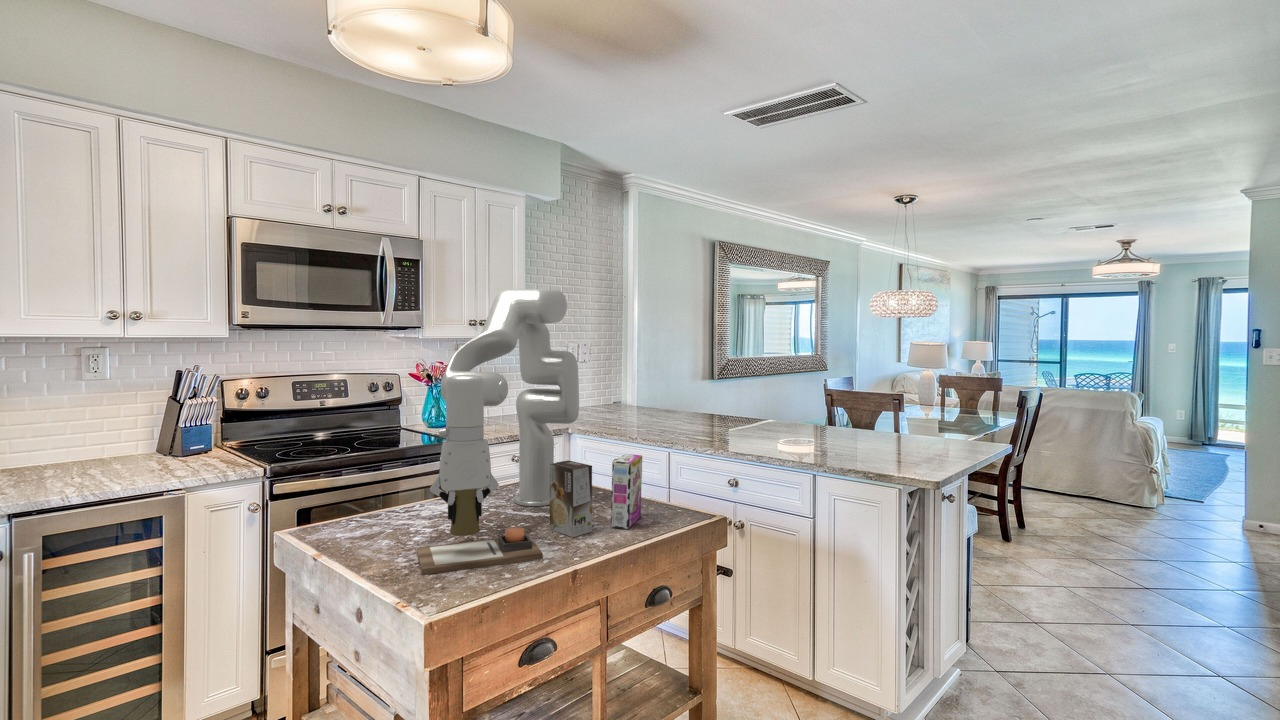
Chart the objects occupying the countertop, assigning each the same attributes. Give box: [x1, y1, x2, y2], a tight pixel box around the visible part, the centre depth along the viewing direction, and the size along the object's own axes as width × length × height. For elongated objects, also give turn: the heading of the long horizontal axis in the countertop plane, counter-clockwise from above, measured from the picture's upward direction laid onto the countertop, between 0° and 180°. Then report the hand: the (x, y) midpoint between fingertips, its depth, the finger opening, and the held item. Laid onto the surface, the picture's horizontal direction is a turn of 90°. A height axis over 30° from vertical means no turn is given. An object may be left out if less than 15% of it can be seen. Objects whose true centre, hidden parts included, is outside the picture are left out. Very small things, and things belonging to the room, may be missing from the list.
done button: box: [504, 526, 525, 542], centre depth 136 cm, size 4×4×2 cm
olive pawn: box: [449, 489, 481, 537], centre depth 131 cm, size 6×6×11 cm
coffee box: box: [549, 460, 593, 538], centre depth 150 cm, size 9×6×16 cm
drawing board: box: [416, 532, 544, 576], centre depth 133 cm, size 13×24×3 cm, turn 114°
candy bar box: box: [610, 453, 643, 530], centre depth 157 cm, size 11×5×16 cm, turn 164°
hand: (464, 520), depth 131 cm, fingers closed on olive pawn, 4 cm apart
